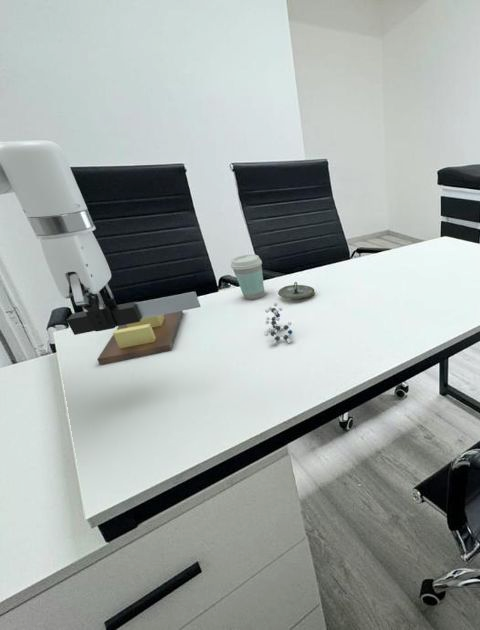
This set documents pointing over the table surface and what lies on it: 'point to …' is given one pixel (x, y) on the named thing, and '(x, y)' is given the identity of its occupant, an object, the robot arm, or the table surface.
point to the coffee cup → (249, 275)
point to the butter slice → (134, 336)
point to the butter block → (149, 321)
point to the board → (162, 343)
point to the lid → (296, 291)
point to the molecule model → (277, 325)
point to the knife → (137, 311)
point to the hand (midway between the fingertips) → (108, 324)
